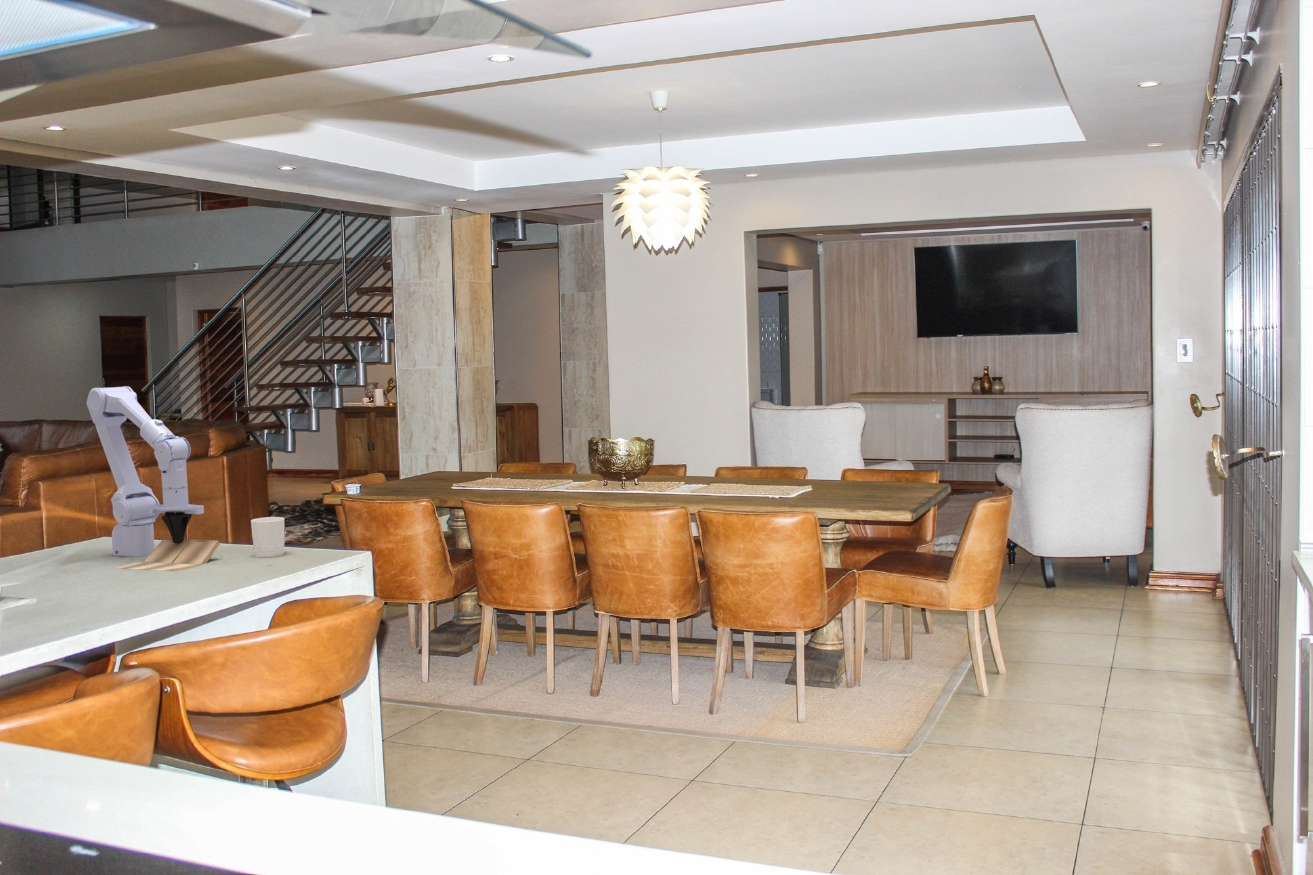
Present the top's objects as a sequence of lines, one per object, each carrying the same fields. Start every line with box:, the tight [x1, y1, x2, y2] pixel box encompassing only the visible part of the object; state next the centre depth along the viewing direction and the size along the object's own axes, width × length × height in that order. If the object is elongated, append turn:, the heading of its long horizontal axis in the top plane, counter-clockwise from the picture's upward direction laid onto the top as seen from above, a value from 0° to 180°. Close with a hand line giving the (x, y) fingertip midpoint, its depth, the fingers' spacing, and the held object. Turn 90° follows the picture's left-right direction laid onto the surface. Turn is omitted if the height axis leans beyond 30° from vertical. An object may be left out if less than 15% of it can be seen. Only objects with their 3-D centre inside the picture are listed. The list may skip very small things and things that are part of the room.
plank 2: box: [173, 539, 221, 566], centre depth 275 cm, size 8×8×1 cm
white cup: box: [250, 516, 285, 558], centre depth 282 cm, size 8×8×10 cm
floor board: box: [115, 561, 201, 573], centre depth 269 cm, size 18×8×1 cm, turn 73°
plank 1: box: [143, 539, 189, 563], centre depth 278 cm, size 8×8×1 cm
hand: (178, 542), depth 279 cm, fingers closed, pressing on plank 1
